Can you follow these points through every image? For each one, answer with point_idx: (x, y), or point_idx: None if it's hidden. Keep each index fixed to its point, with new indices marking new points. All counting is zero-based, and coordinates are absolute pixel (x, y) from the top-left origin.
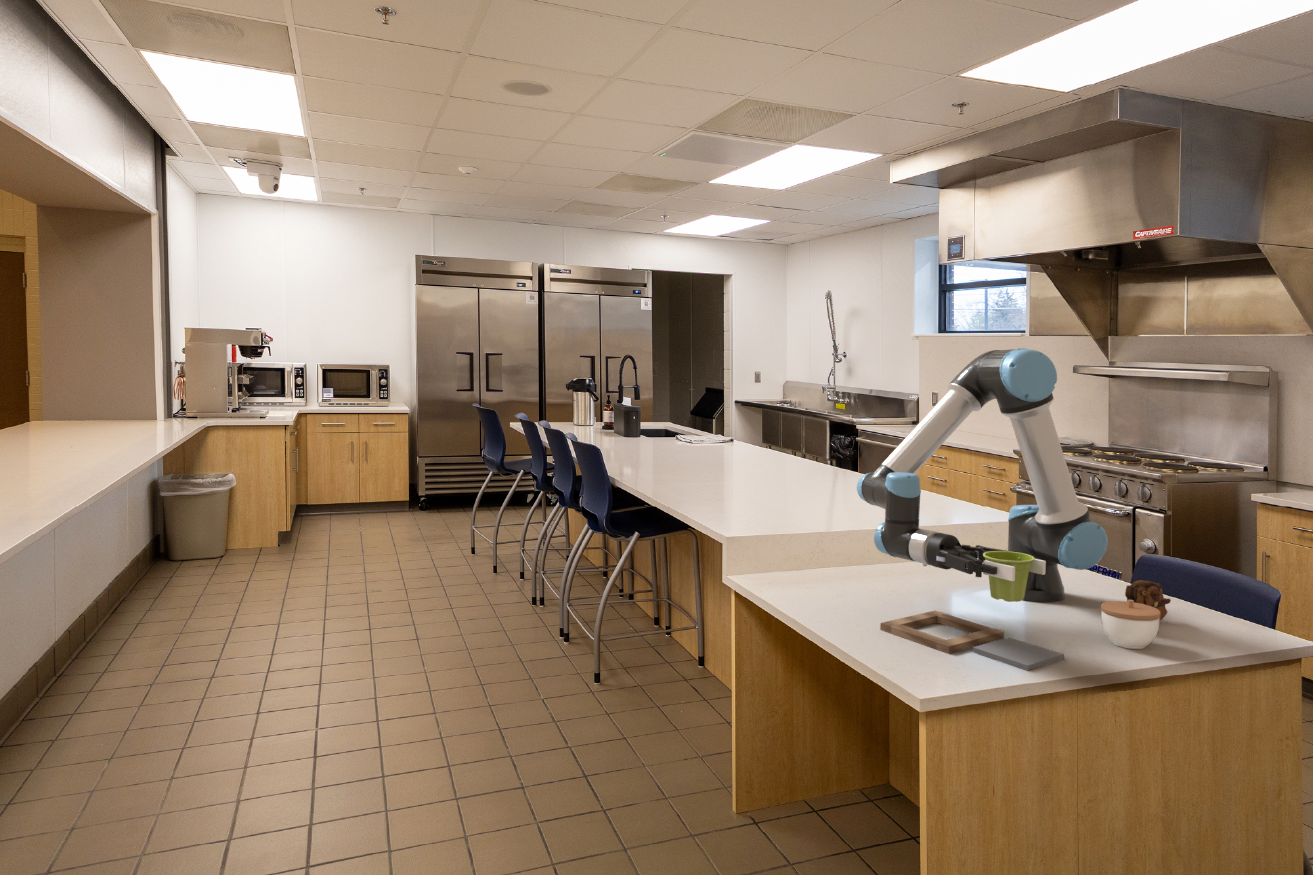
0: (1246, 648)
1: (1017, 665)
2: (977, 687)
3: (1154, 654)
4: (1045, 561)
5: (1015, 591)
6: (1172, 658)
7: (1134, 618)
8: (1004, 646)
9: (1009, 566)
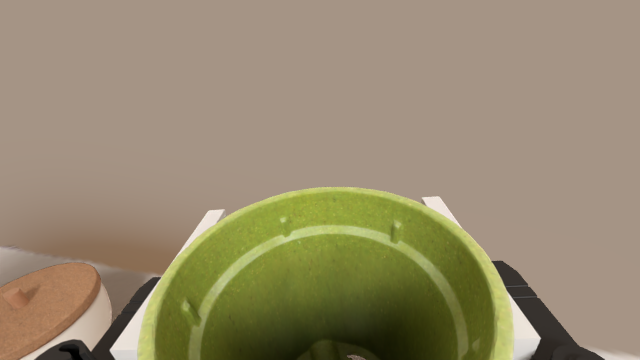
0: (30, 266)
1: None
2: None
3: (124, 306)
4: (212, 211)
5: (366, 317)
6: (135, 286)
7: (100, 281)
8: None
9: (442, 206)
